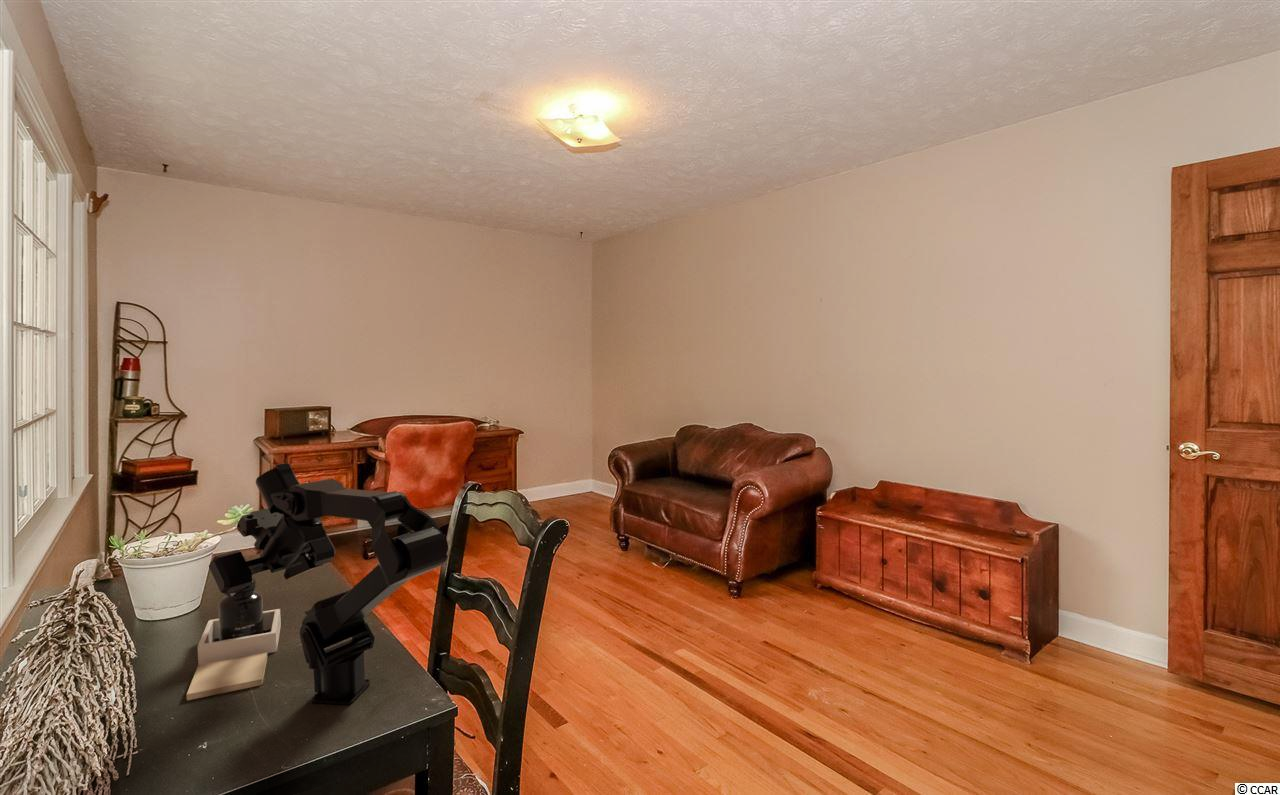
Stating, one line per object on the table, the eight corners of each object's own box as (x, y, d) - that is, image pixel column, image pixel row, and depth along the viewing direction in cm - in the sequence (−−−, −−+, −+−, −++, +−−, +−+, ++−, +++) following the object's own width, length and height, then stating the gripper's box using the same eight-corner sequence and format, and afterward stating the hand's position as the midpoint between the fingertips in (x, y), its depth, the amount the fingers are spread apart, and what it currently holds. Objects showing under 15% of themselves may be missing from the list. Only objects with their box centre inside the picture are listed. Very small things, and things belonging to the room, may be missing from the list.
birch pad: (267, 657, 109) (267, 652, 109) (262, 684, 100) (261, 679, 100) (198, 670, 104) (198, 664, 104) (186, 700, 96) (186, 694, 96)
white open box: (280, 625, 121) (280, 608, 121) (276, 651, 111) (275, 632, 111) (209, 638, 116) (208, 620, 116) (198, 666, 106) (197, 646, 106)
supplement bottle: (242, 655, 110) (239, 590, 109) (210, 651, 111) (207, 587, 110) (272, 638, 116) (270, 576, 115) (242, 634, 118) (239, 573, 117)
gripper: (324, 486, 113) (292, 535, 120) (211, 508, 97) (181, 563, 104) (352, 535, 110) (317, 582, 116) (239, 566, 94) (207, 619, 100)
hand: (259, 585), depth 109 cm, fingers open, 9 cm apart
